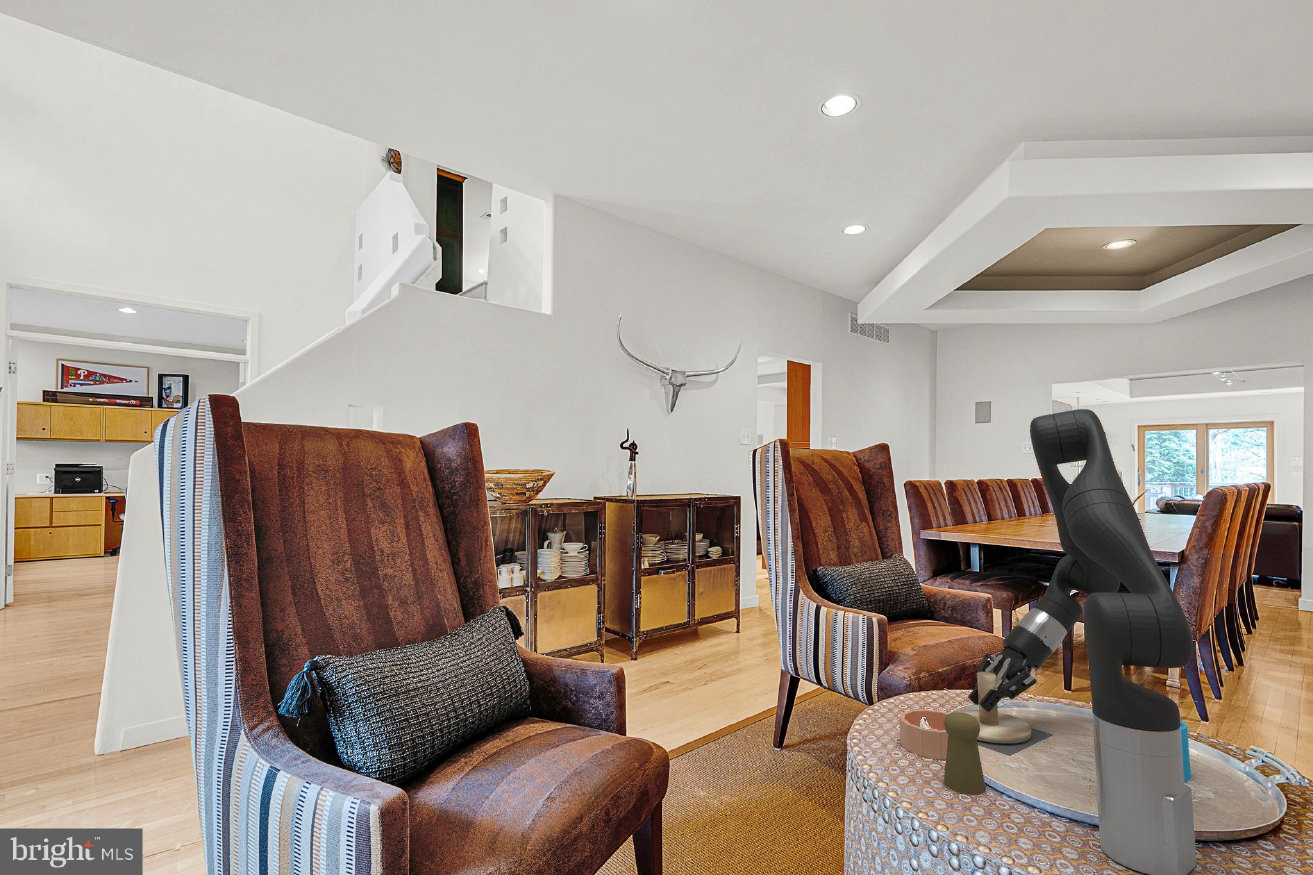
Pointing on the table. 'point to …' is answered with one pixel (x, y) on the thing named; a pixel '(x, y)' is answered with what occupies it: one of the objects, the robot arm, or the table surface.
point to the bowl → (924, 733)
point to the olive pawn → (963, 754)
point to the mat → (1016, 747)
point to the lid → (997, 718)
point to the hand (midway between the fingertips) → (978, 704)
